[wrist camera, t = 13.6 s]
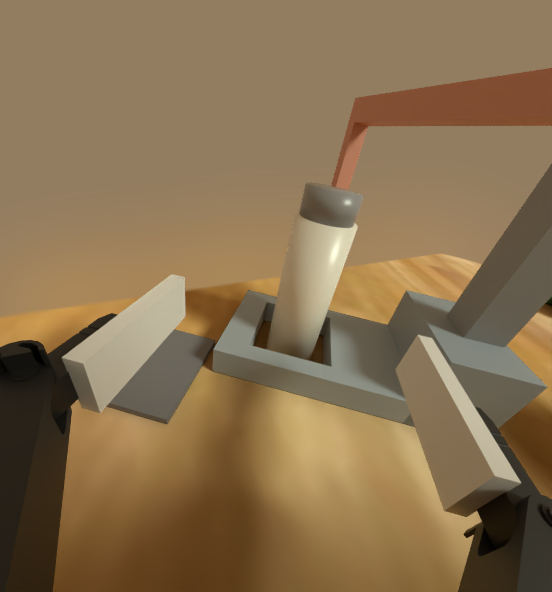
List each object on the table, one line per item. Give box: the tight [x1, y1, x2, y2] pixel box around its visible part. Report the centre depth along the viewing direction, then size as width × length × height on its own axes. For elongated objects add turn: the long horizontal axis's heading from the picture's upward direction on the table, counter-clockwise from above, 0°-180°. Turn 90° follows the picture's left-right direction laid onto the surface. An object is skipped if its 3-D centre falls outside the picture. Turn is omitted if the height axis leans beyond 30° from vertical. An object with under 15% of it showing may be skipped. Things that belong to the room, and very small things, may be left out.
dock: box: [212, 164, 552, 428], centre depth 18 cm, size 22×10×21 cm, turn 79°
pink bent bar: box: [331, 68, 552, 190], centre depth 22 cm, size 26×4×10 cm, turn 20°
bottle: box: [267, 183, 364, 361], centre depth 20 cm, size 5×5×15 cm
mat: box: [107, 329, 215, 424], centre depth 19 cm, size 8×8×1 cm
